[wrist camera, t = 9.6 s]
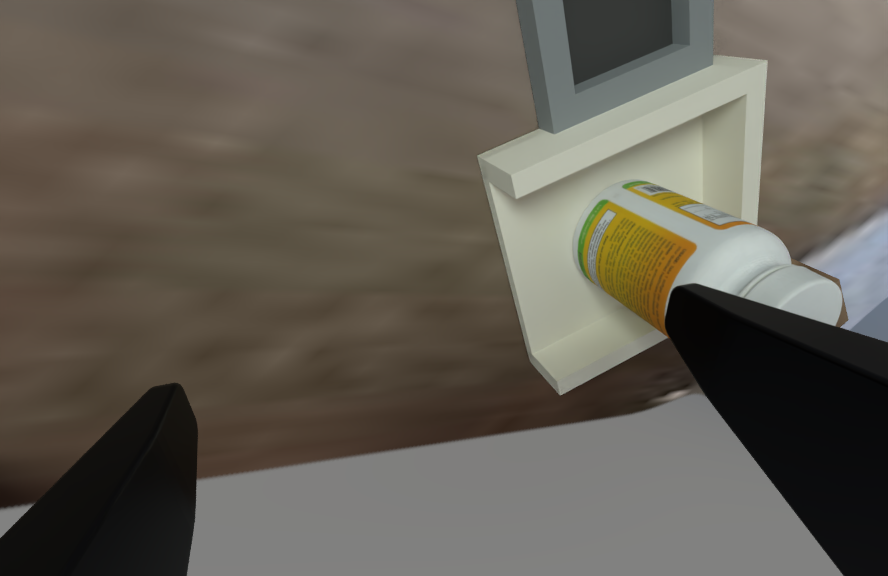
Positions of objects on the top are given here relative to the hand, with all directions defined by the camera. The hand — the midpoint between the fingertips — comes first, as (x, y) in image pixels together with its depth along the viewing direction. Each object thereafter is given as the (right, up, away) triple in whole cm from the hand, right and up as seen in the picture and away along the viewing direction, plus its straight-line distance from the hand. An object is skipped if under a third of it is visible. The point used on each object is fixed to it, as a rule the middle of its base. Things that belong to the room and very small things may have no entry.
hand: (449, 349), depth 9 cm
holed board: (+6, +13, +11) cm, 18 cm away
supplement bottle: (+8, +4, +16) cm, 19 cm away
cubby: (+8, +4, +17) cm, 19 cm away
